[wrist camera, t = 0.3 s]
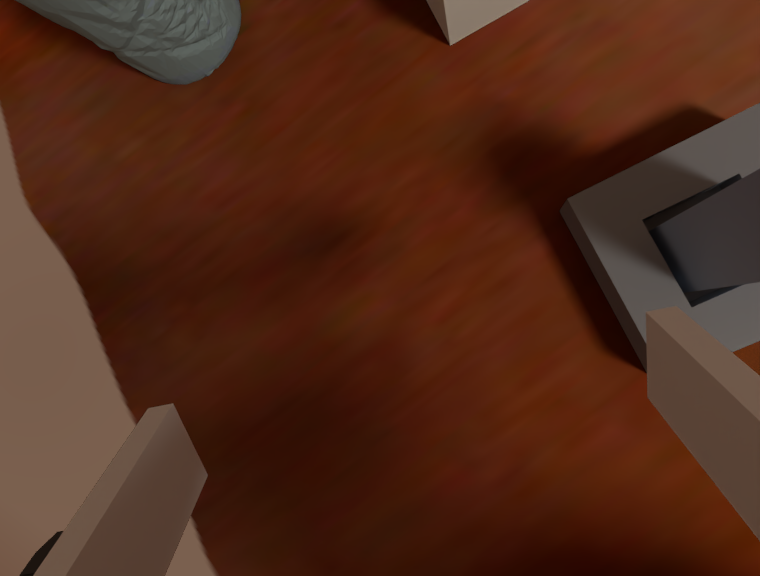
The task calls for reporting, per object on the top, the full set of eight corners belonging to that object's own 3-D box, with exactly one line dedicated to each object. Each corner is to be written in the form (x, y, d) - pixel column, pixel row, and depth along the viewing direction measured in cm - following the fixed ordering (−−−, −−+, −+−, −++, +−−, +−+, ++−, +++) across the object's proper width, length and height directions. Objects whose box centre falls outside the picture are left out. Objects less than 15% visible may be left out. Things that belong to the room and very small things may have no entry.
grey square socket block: (839, 291, 26) (884, 288, 23) (647, 373, 27) (665, 379, 24) (735, 123, 27) (765, 100, 24) (559, 211, 29) (567, 198, 26)
